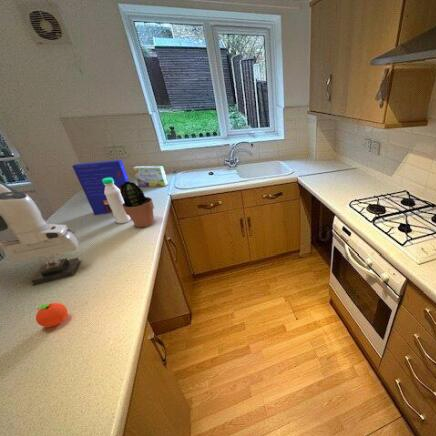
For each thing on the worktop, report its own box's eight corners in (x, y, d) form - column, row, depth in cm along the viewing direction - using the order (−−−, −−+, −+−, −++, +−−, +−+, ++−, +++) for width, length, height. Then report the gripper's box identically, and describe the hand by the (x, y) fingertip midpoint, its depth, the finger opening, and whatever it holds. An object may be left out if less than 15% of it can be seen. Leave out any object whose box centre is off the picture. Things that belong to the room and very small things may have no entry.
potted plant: (163, 221, 134) (150, 178, 122) (139, 232, 124) (121, 187, 112) (150, 215, 140) (136, 174, 129) (126, 225, 130) (108, 182, 119)
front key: (47, 271, 93) (45, 267, 93) (51, 266, 96) (49, 262, 96) (59, 268, 95) (57, 265, 94) (62, 263, 98) (60, 260, 97)
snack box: (138, 186, 185) (131, 167, 178) (142, 184, 190) (136, 165, 183) (165, 186, 184) (159, 167, 177) (168, 184, 189) (163, 165, 182)
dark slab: (33, 285, 91) (28, 277, 89) (44, 269, 99) (39, 261, 97) (73, 275, 95) (68, 267, 93) (80, 261, 103) (76, 254, 101)
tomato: (33, 329, 73) (21, 313, 70) (57, 311, 79) (46, 295, 76) (55, 333, 72) (43, 317, 69) (77, 314, 78) (67, 299, 75)
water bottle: (117, 225, 131) (99, 181, 119) (115, 220, 136) (98, 178, 124) (132, 221, 135) (115, 178, 123) (130, 216, 140) (114, 175, 128)
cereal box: (137, 205, 154) (121, 158, 140) (136, 208, 149) (118, 161, 135) (98, 211, 148) (76, 163, 134) (94, 215, 143) (72, 165, 129)
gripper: (-9, 245, 82) (14, 276, 88) (65, 231, 89) (82, 261, 96) (1, 237, 87) (22, 266, 94) (71, 224, 94) (86, 252, 101)
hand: (53, 263), depth 95 cm, fingers closed, pressing on front key
